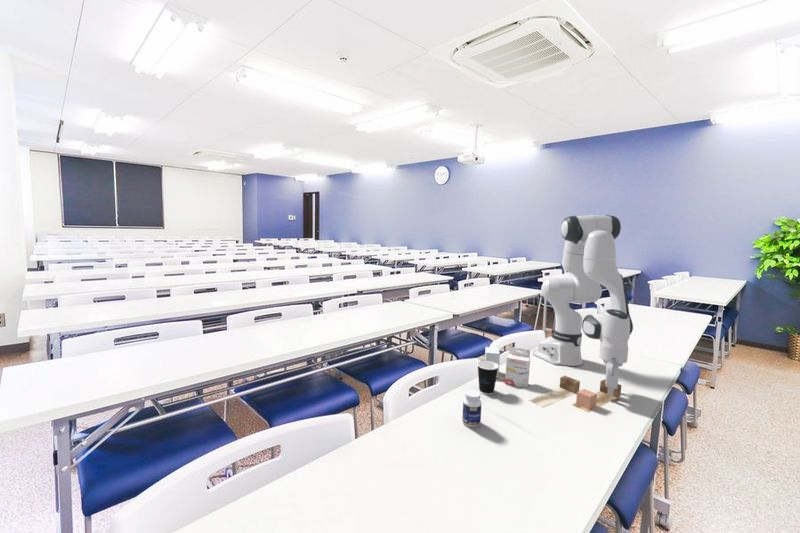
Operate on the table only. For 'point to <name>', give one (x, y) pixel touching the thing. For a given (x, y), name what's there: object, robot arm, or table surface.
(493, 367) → the dixie cup
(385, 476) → the table surface
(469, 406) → the pill bottle
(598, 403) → the oak strip
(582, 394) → the terracotta cube
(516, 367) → the ink cartridge box
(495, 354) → the small box
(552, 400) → the pale ash strip
